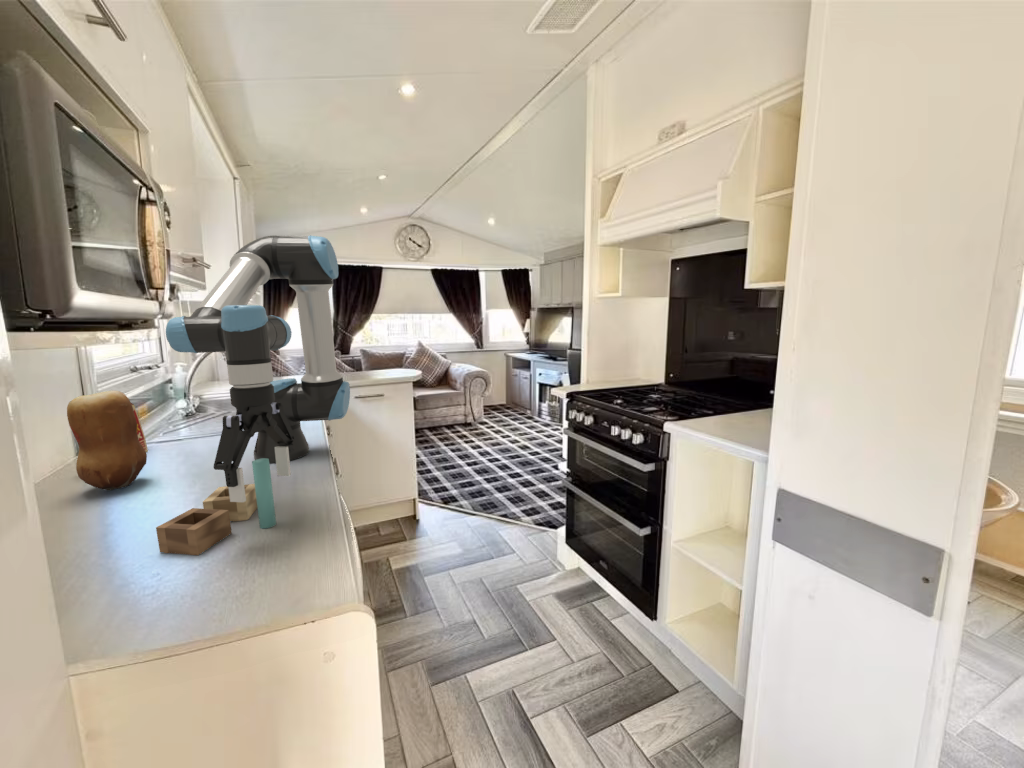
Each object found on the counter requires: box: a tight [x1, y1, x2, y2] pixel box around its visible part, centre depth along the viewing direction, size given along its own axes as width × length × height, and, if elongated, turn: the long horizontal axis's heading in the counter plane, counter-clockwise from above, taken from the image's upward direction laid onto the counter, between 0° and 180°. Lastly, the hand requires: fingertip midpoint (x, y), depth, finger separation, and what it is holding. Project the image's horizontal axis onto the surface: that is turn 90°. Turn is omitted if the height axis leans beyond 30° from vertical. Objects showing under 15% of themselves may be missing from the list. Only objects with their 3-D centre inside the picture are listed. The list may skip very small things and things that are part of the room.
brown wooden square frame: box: [155, 507, 233, 556], centre depth 84 cm, size 8×8×5 cm
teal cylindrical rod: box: [251, 458, 277, 530], centre depth 90 cm, size 3×3×14 cm
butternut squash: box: [66, 390, 148, 492], centre depth 110 cm, size 14×13×25 cm
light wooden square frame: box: [202, 483, 258, 522], centre depth 96 cm, size 8×8×5 cm
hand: (262, 487), depth 90 cm, fingers open, 13 cm apart
